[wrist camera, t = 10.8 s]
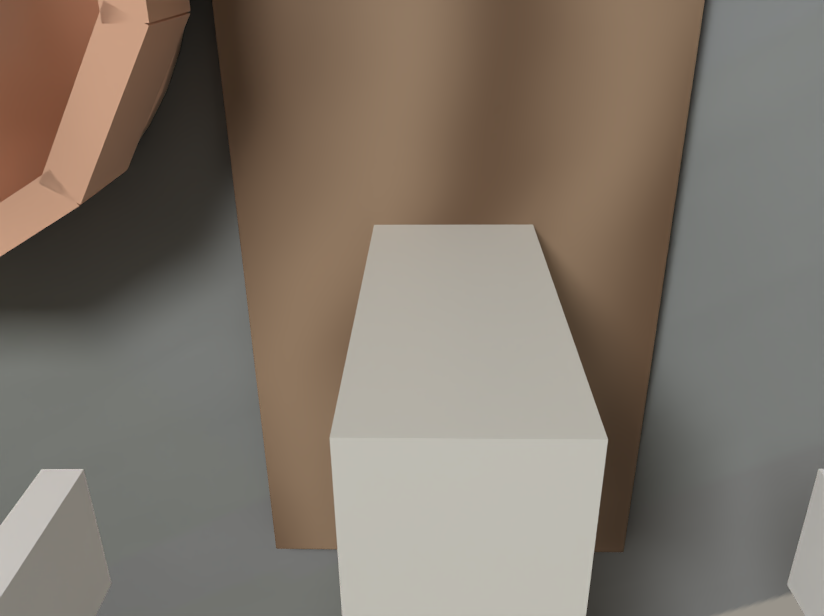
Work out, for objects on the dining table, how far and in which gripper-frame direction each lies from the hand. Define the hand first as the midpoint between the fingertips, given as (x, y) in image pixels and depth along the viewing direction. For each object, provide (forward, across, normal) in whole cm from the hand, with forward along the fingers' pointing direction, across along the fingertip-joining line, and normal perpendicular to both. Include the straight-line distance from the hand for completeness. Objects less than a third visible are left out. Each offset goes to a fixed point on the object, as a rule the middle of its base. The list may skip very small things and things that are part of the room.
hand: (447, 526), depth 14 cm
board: (+10, 0, 0) cm, 10 cm away
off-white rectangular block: (+9, 0, 0) cm, 9 cm away
